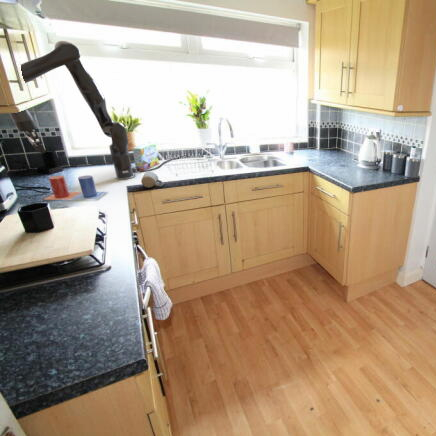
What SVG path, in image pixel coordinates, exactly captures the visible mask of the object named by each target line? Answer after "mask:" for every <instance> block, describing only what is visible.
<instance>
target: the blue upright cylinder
mask: <svg viewBox="0 0 436 436" xmlns="http://www.w3.org/2000/svg"><path fill="white" fill-rule="evenodd" d="M78 183H79V187H80V189H81V192H82V193H83V197H85V198H90V197H95V196H97V192H98V191H97V187H96V183H95V180H94V176H93V175H81V176H78Z"/></svg>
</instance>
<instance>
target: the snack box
mask: <svg viewBox="0 0 436 436" xmlns="http://www.w3.org/2000/svg"><path fill="white" fill-rule="evenodd" d="M131 150H132V154H133V159H134V164H135V168H136V169H137V170H140V171H147V170H149V169H152V168H154V167H156V165H160V164H159V163H160V161H159V155H158V148H157V143H156V142H147V143H143V144H141V145H138V146H135V147H132V149H131ZM137 170H136V171H137Z"/></svg>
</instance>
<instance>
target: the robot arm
mask: <svg viewBox="0 0 436 436" xmlns="http://www.w3.org/2000/svg"><path fill="white" fill-rule="evenodd" d="M20 65H21V71H22V76H23V79H24V81H25V84H27V83H30V82H32V81H34V80H36V79H38V78H40V77H42V76H44V75H45V74H47V73H49V72H52V71H53V70H55V69H57V68H60V67H63V66H65V68H66V69H67V70H68V72H69V74H70V75H71V77H72V78H73V81H74V83H75V85H76V87H77V89H78V91H79V93H80V94H81V96H82V98H83V99H84V101H85V102H86V104H87V105H88V107H89V109H90V110H91V112H92V113H93V115H94V117H95V119H96V120H97V123H98V125H99V127H100V129H101V131H102V133H103V134H104V135H105V136H106V137H108V138H111V144H109V146H108V147H109V152H110V156H111V160H112V165H113V168H114V173H115V178H116V179H117V180H129V179H132V178H134V177H135V175H134V174H136V173H137V171H138V172H139V173H146V172H152V171H155V170H157V169H159V168H160V167H162V166H163V165H164V164H165V163H167V162H169V161H173V160H178V159H181V158H184V157H187V158H188V157H189V156H188V155H187V154H184V155H181V156H178V157H173V158H170V159H168V160H166V161H163V162H162V163H161V164H159V165H158V166H157V167H156V166H155V167H153V168H149V169H146V170H145V171H140V170H137V169H136V167H133V165H132V161H131V156H130V152H129V139H128V132H127V128H126V127H125V125H124V124H123V123H121V122H116V121H114V120H113V118H112V117H111V115H110V114H109V111H108V108H107V101H106V97H105V95H104V94H103V92H102V90H101V88H100V87H99V85H98V84H97V82H96V81H95V79H94V78H93V77H92V76H91V74H90V73H89V72H88V70H87V69H86V68H85V65H84V64H83V62H82V60H81V51H80V49H79V48H78V47H77V46H76V45H75V44H73V43H72V42H69V41H66V40H58V41H57V42H56V43H55V44H54V49H53V50H51V51H50V52H48V53H47V54H45V55H43V56H42V55H41V56H40V57H36V58H33V59H31V60H28V61H25V62H23V63H21V64H20ZM8 114H9V116H10V119H11V120H12V122H13V123H14V125H15V127H16V129H17V131H19V132H20V133H21V132H22V133H23V132H25V133H24V135H25V136H26V138H27V139H28V141H29V143H30V144H31V145H32V146H33V148H34V150H35V151H36V153H38V154H39V153H40V154H46V153H47V151H46V149H45V147H44V145H43V142H42V140H41V138H40V137H39V134H38V133H37V132H36V131H35V130H36V129H38V128H39V126H38V125H37V123H36V121H35V119H34V118H33V116H32V114H31V113H30V110H28V108H27V109H26V110H24V111H21V112H18V113H9V112H8Z"/></svg>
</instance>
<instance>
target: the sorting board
mask: <svg viewBox="0 0 436 436" xmlns="http://www.w3.org/2000/svg"><path fill="white" fill-rule="evenodd" d="M105 193H107V191H97V196H95V197H90V198H85V197H83V193H82V191H69V194H70V195H69V196H68V197H64V198H55V196H54V193H53V194H51V195H48V197H46V198H44V199H43V200H44V201H50V200H51V201H53V200H54V201H55V200H57V201H58V200H97V199H99V198H100V197H102V196H104V194H105Z"/></svg>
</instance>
